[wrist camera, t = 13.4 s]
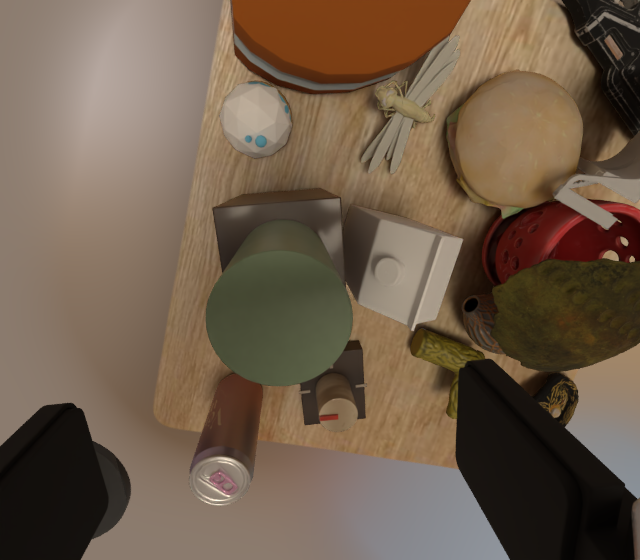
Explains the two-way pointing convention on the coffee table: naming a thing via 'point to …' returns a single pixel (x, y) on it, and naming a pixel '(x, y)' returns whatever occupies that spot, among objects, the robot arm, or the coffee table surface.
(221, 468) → the beverage can
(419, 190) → the coffee table surface
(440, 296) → the milk carton
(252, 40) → the orange rounded case
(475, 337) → the vase
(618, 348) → the pottery fragment
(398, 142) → the toy
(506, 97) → the burger
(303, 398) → the panel
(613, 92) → the firearm
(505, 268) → the red colander
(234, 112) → the ornament
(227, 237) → the plinth
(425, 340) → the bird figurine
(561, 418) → the rubber snake
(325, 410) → the knob
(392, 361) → the coffee table surface
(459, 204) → the coffee table surface
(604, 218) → the skate ramp
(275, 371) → the tin
